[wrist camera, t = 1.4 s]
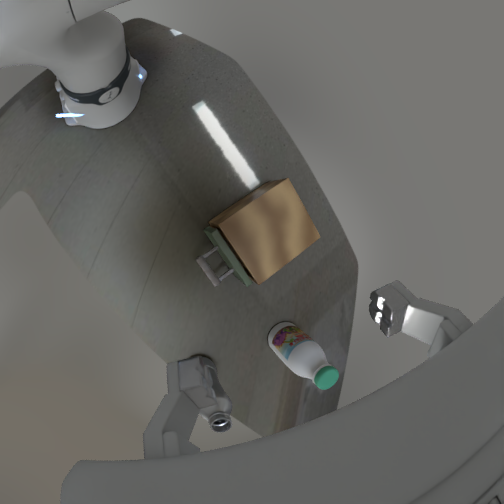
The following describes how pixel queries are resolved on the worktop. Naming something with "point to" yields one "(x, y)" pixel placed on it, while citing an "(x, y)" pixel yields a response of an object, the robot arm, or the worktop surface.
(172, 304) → the worktop surface
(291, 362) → the milk bottle
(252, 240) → the cabinet
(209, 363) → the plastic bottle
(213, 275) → the drawer
